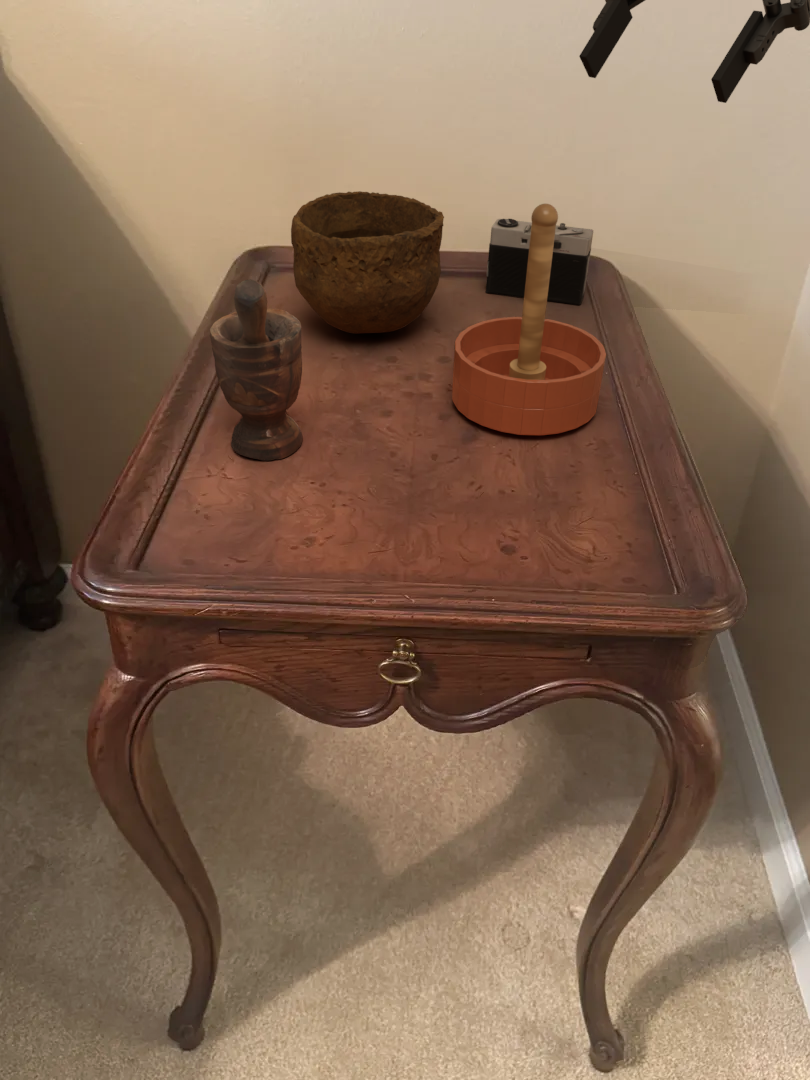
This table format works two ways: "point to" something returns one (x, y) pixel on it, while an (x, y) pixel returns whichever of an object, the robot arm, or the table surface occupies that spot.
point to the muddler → (535, 295)
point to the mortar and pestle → (259, 372)
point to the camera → (512, 261)
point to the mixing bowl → (520, 401)
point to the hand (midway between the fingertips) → (649, 79)
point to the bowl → (367, 259)
